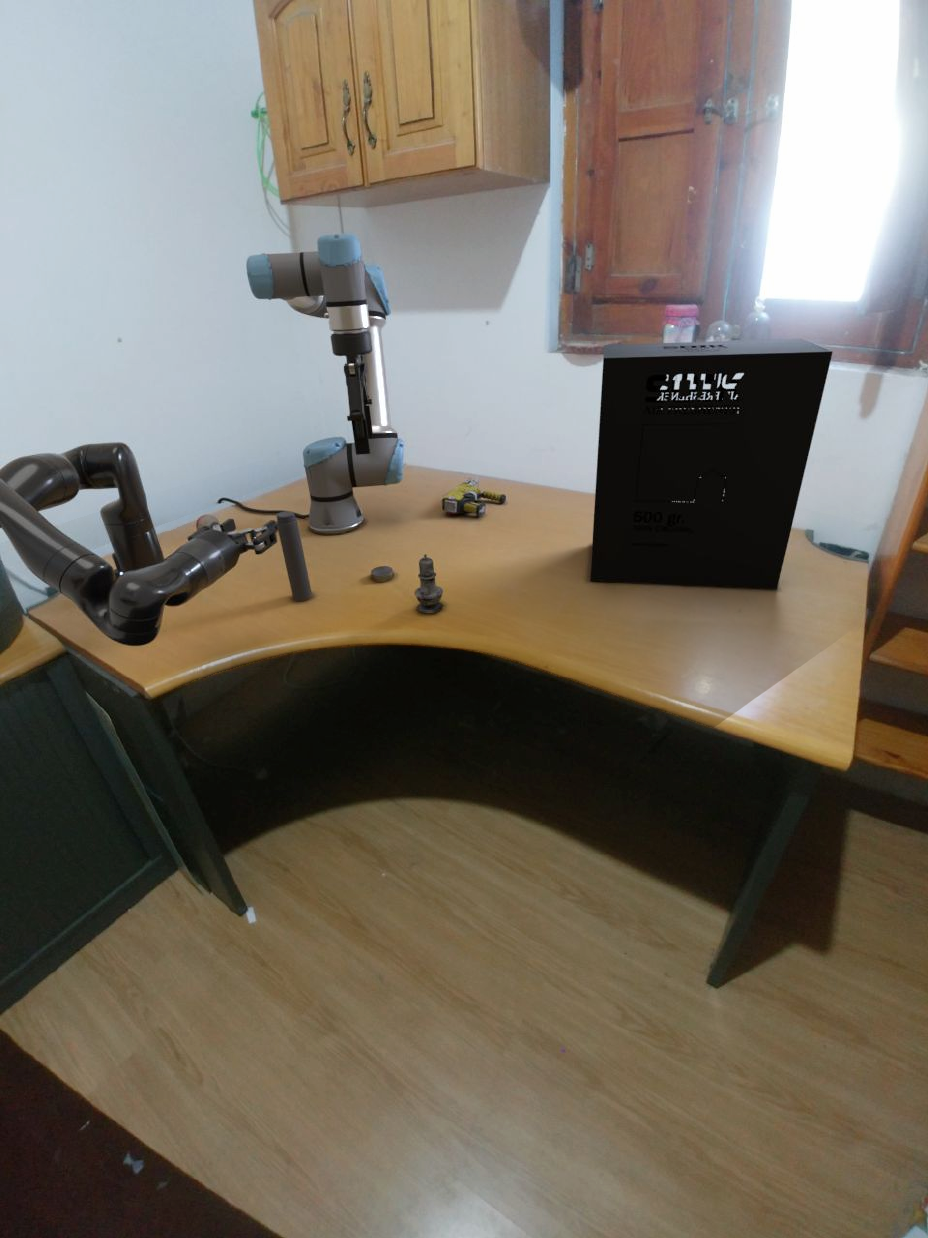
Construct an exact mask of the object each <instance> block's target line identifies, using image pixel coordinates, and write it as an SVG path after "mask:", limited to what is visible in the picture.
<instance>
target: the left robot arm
mask: <svg viewBox="0 0 928 1238" xmlns="http://www.w3.org/2000/svg"><path fill="white" fill-rule="evenodd" d="M107 489H117V492H118V498H117V499H115V500H113V501H111V502H108V503H106V504H105V505H103V506H102V507H101V508H100V510H99V513H100V518H101V520H102V522H103V525H104V528H105V531H106V533H107V535H108V539H109V541H110V544H111V546H112V549H113V553H112V554H111V557H112V559H113V562H114V565H115V569H114V568H113V566H112V565H111V563H109V562H108V561H107V560H106V559H104V558H102V557H101V556H99V555H98V554H96V553H94V552H93V551H91V550H90V549H89V548H87V547H85V545H84V546H83V544H80V543H79V542H77V541H76V540H74V539H73V538H71V537H70V536H68V535H67V534H65V533H64V532H62V530H60V529H59V528H57V527H56V526H55V525H54V524H52V523H51V522H50V521H49V520H48V519H47V518H45V517H44V516H43V514H41V511H46V510H50V509H52V508H56V507H59V506H62V505H64V504H67V503H69V502H71V501H72V500H74V499H75V498H76V497H77V495H78V494H79V491H83V490H107ZM276 522H277V520H275V519H270V520H269V521H268V522H266V523H264V525H262V526H261V527H258V528H253V527H247V528H244V529H240V530H236V529H237V525H236V522H235V519H234V518H228V519H226V520H225V521H223V522H221V523H220V525H214V526H213V528H209V526H203V527H202V528H200V529H199V530H197V529H196V531H194V532H193V533H191V534H190V535H189V536H187V541H186V542H185V543H183V544H181V545H180V546H179V547H178V548H177V549H176V550H174V551H173V552H172V553H171V554H170V555H168V556H166V557H165V556H164V552H163V550H162V547H161V544H160V541H159V537H158V535H157V532H156V528H155V526H154V523H153V519H152V516H151V513H150V510H149V507H148V499H147V494H146V492H145V488H144V485H143V481H142V478H141V473H140V469H139V466H138V462H137V460H136V457H135V454H134V452H133V450H132V449H131V448H130V446H128V445H127V443H124V442H122V441H121V442H120V441H113V442H112V441H111V442H98V443H86V444H82V445H78V446H77V447H74V448H71V449H69V450H67V451H63V452H61V453H56V452H42V453H35V454H30V455H24V456H20V457H17V458H14V459H13V460H11V461H9V462H8V463H6V464H5V465H4V466H3V467H1V468H0V529H2V531H3V533H4V534H5V535H6V537H7V539H8V540H9V542H10V543H11V545H12V547H13V548H14V550H15V552H16V553H17V555H18V556H19V558H20V560H21V562H23V564H24V565H25V567H26V568H27V569H28V570H29V571H30V572H31V573H32V574H33V575H34V577H36V578H38V579H39V580H40V581H41V582H43V583H44V584H46V585H48V586H49V587H50V588H52V589H54V590H55V591H57V592H58V593H60V594H61V595H63V596H65V597H66V598H68V599H70V600H71V601H72V602H73V603H74V604H75V605H76V607H78V609H79V610H80V611H81V613H83V615H85V616H86V617H87V619H89V621H90V622H91V623H92V624H93V626H95V627H96V628H97V629H98V630H99V631H100V632H101V633H102V634H103V635H104V636H106V637H107V638H108V639H110V640H111V641H113V642H116V643H118V644H120V645H125V646H129V647H142V646H145V645H148V644H150V643H152V642H153V641H155V640H156V638H157V637H158V635H159V633H160V631H161V627H162V622H163V617H164V612H165V611H164V610H165V606H166V607H180V606H182V605H185V604H186V603H188V602H189V601H190V600H192V599H193V598H194V597H196V596H197V595H198V594H200V593H202V591H203V590H206V589H207V588H209V587H210V586H212V585H214V584H215V583H216V582H218V580H220V579H221V578H222V577H224V576H225V575H226V574H227V573H228V572H230V571H231V570H232V569H234V567H236V565H237V564H238V561H239V559H240V556H241V555H242V554H244V553H246V552H249V551H254V553H255V555H261V554H264V553H265V552H266V551H267V550H269V549H270V548H271V547H273V546H274V545H276V544H277V543H278V537H277V533H278V527H277V523H276ZM248 534H249V538H250V541H249V540H248V537H247V535H248ZM258 534H259V535H258Z"/></svg>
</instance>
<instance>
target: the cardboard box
mask: <svg viewBox="0 0 928 1238" xmlns="http://www.w3.org/2000/svg"><path fill="white" fill-rule="evenodd" d="M833 353H834V352H833V350H830V349H827V348H826V347H825V348H824V347H822V346H821V345H818V344H815V343H813V342H810V341H808V340H805V339H802V338H783V339H782V338H781V339H779V338H777V339H776V338H775V339H749V340H747V339H746V340H723V341H722V340H720V341H719V340H718V341H689V342H687V341H685V342H683V341H682V342H657V343H654V342H653V343H627V344H625V343H624V344H623V343H621V344H604V345H603V359H602V362H603V363H602V375H601V389H600V390H601V392H600V409H599V424H598V425H599V426H598V427H599V428H598V442H597V457H596V458H597V459H596V460H597V461H596V475H595V493H594V496H595V497H594V508H593V509H594V510H593V525H592V527H593V528H592V541H591V557H590V558H591V560H590V575H589V576H590V577H589V580H590V582H603V583H622V584H623V583H625V584H626V583H628V584H645V585H647V584H648V585H669V586H670V585H671V586H693V587H712V588H714V587H715V588H734V589H735V588H737V589H755V590H757V589H758V590H759V589H760V590H778V586H779V582H780V577H781V574H782V570H783V565H784V561H785V556H786V553H787V548H788V543H789V539H790V536H791V531H792V526H793V522H794V519H795V513H796V510H797V505H798V501H799V497H800V493H801V489H802V484H803V480H804V476H805V471H806V467H807V464H808V463H807V462H808V458H809V455H810V450H811V446H812V442H813V437H814V434H815V430H816V425H817V421H818V417H819V411H820V407H821V404H822V400H823V399H822V398H823V394H824V390H825V386H826V381H827V378H828V374H829V369H830V366H831V360H832V356H833ZM738 374H742V376H741V377H740V378H735V376H736V375H738ZM678 375H681V379H680V380H679V384H678V388H675V385H676V379H675V377H676V376H678ZM689 375H693V380H692V381H691V379H688V376H689ZM702 375H704V379H702ZM719 378H720V382H719ZM724 378H725V382H724ZM723 382H724V385H730V384H731V385H734V388H725V387H724V386H723ZM691 383H692V385H695V388H691ZM705 385H710V388H704V386H705ZM662 387H666V389H662Z"/></svg>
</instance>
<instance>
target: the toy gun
mask: <svg viewBox="0 0 928 1238" xmlns="http://www.w3.org/2000/svg"><path fill="white" fill-rule="evenodd" d="M477 485H479V479H478V478H474V479H473V477H469V478H467V480H466V481H464V482H462V483H460V484H459V485H458V486H456V488H454V489H453V490H451V491H450V492H449V493H448V494H446V495H445V496H444V497H443V498H442V499H441V510H442V511H443V512H444V513H446V514H448V515H453V514H457V515H458V514H462V513H471V514H475V515H476V518H480V517H482V516H483V515H485V514H486V504H487V503H486V502H484V501H482V502H480V501H479V500H480V499H481V498H483V499H485V500H486V499H487V500H491V501H494V502H498V503H501V504H503V503H505V502H506V500H507V495H505V494H504V493H498V492H497V493H496V492H492V491H488V490H483V491H482V492H481V490H480V488H479V486H477Z"/></svg>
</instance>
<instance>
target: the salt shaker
mask: <svg viewBox="0 0 928 1238" xmlns="http://www.w3.org/2000/svg"><path fill="white" fill-rule="evenodd" d="M418 569H419V572H418V575H417V577H418V578H419V583H420V586H419V587H418V588H416V589H415V590H414V594H413V595H414V597H415V598H416V600H417V602H418V603H419V604H418V605H417V610H418V612H420V613H423V614H434V613H437V612H440V611H441V610H442V609H443V608H444V607H443V606H444V605H443V603H442V602H440V601H441V599H442V596H443V594H444V589H443V588H442V587H440V586H439V585H437V584H436V576H437V572H435V567H434V560H433V559H432V558H431V557H428V554H426V553H424V555H423V557H422V558H420V559H419V560H418Z"/></svg>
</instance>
